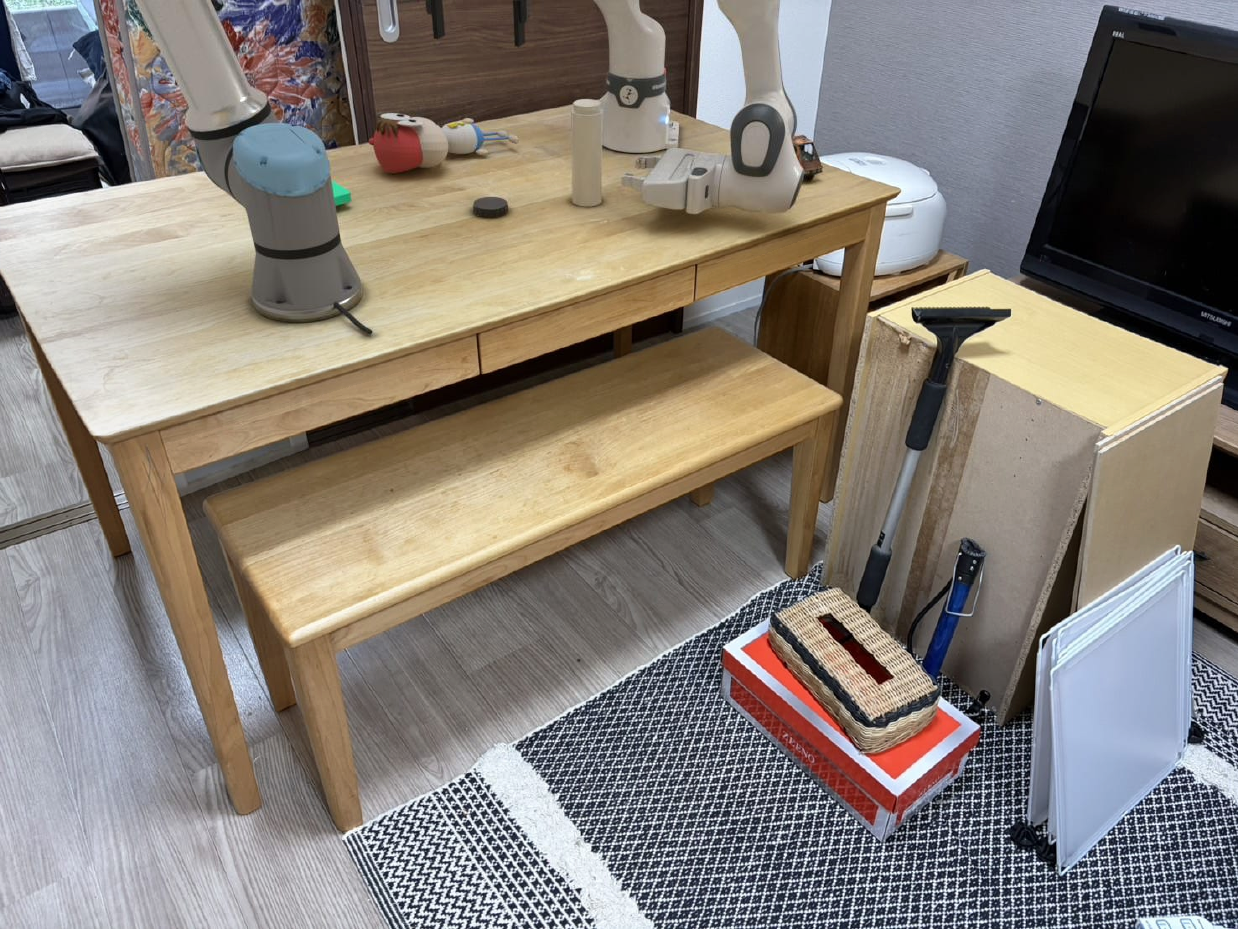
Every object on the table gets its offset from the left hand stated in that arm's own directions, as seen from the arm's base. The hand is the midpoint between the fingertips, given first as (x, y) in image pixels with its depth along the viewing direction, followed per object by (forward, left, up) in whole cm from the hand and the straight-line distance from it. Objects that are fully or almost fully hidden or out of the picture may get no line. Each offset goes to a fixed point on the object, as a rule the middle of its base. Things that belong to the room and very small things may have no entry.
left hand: (479, 41), depth 146 cm
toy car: (-8, -61, -28) cm, 68 cm away
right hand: (-9, -23, -21) cm, 33 cm away
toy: (+28, -3, -28) cm, 40 cm away
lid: (0, 0, -27) cm, 27 cm away
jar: (-3, -18, -28) cm, 33 cm away
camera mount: (+17, +25, -28) cm, 42 cm away
